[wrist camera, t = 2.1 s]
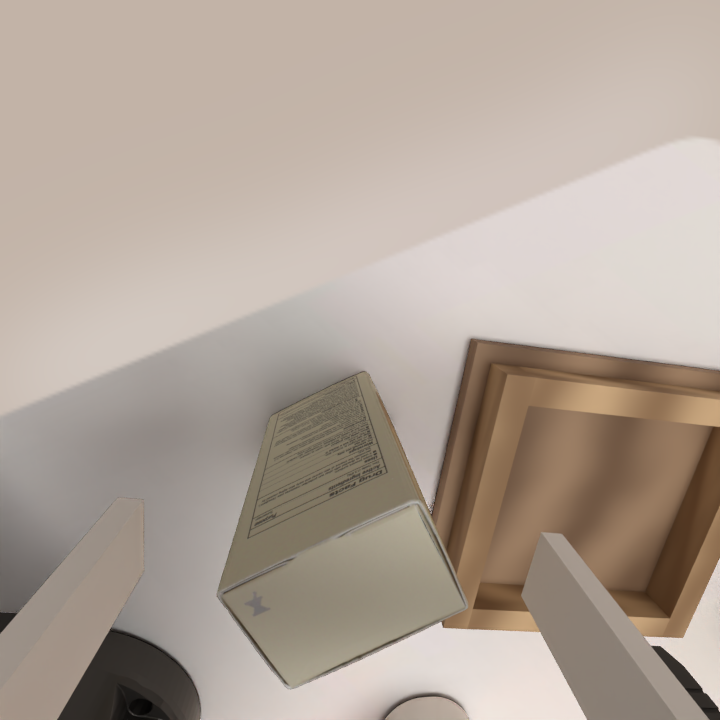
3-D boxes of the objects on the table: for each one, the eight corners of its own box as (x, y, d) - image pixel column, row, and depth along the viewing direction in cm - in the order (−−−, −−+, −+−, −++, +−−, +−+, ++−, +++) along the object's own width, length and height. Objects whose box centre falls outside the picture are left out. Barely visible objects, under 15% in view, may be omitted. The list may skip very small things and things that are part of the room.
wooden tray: (413, 597, 27) (423, 640, 24) (471, 338, 22) (493, 352, 19) (654, 609, 29) (691, 650, 26) (754, 375, 24) (812, 392, 21)
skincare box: (303, 474, 23) (278, 702, 12) (267, 413, 22) (200, 599, 10) (401, 429, 23) (477, 616, 11) (371, 365, 22) (421, 501, 10)
